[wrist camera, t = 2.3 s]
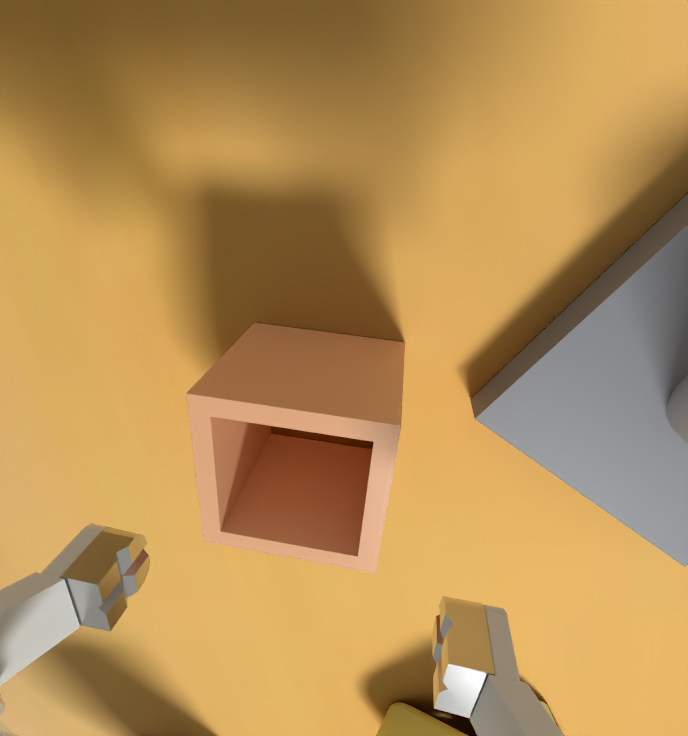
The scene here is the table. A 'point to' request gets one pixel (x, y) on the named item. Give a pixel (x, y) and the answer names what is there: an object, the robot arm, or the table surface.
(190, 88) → the table surface
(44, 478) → the table surface
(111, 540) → the robot arm
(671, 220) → the base
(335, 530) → the sleeve
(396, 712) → the plastic component
